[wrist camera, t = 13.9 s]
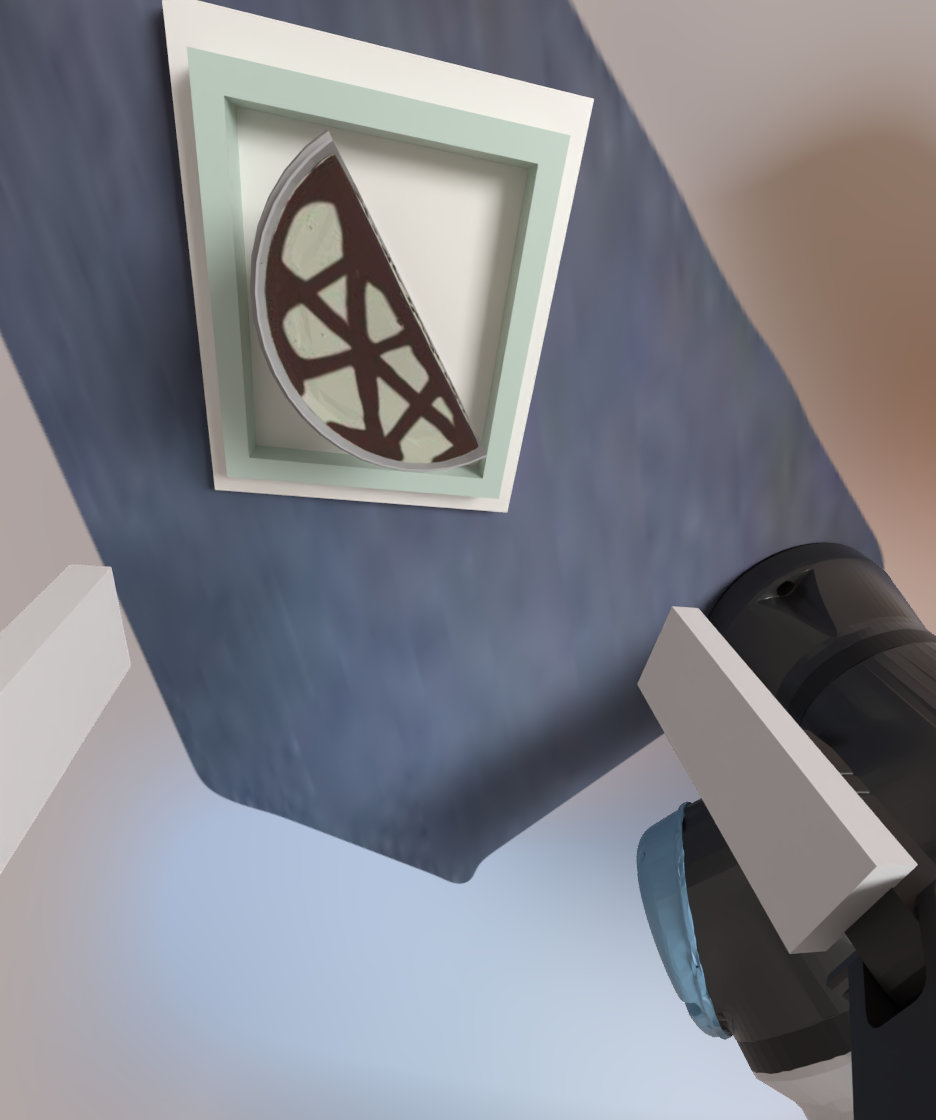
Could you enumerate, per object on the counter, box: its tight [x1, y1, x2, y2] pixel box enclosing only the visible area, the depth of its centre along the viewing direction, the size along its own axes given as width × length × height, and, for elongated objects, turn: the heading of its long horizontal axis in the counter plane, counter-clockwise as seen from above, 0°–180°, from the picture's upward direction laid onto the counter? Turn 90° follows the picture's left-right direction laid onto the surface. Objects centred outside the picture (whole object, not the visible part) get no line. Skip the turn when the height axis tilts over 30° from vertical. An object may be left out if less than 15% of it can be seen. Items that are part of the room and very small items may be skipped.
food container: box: [250, 129, 487, 472], centre depth 23 cm, size 12×6×10 cm, turn 26°
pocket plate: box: [162, 0, 594, 512], centre depth 27 cm, size 18×21×3 cm
